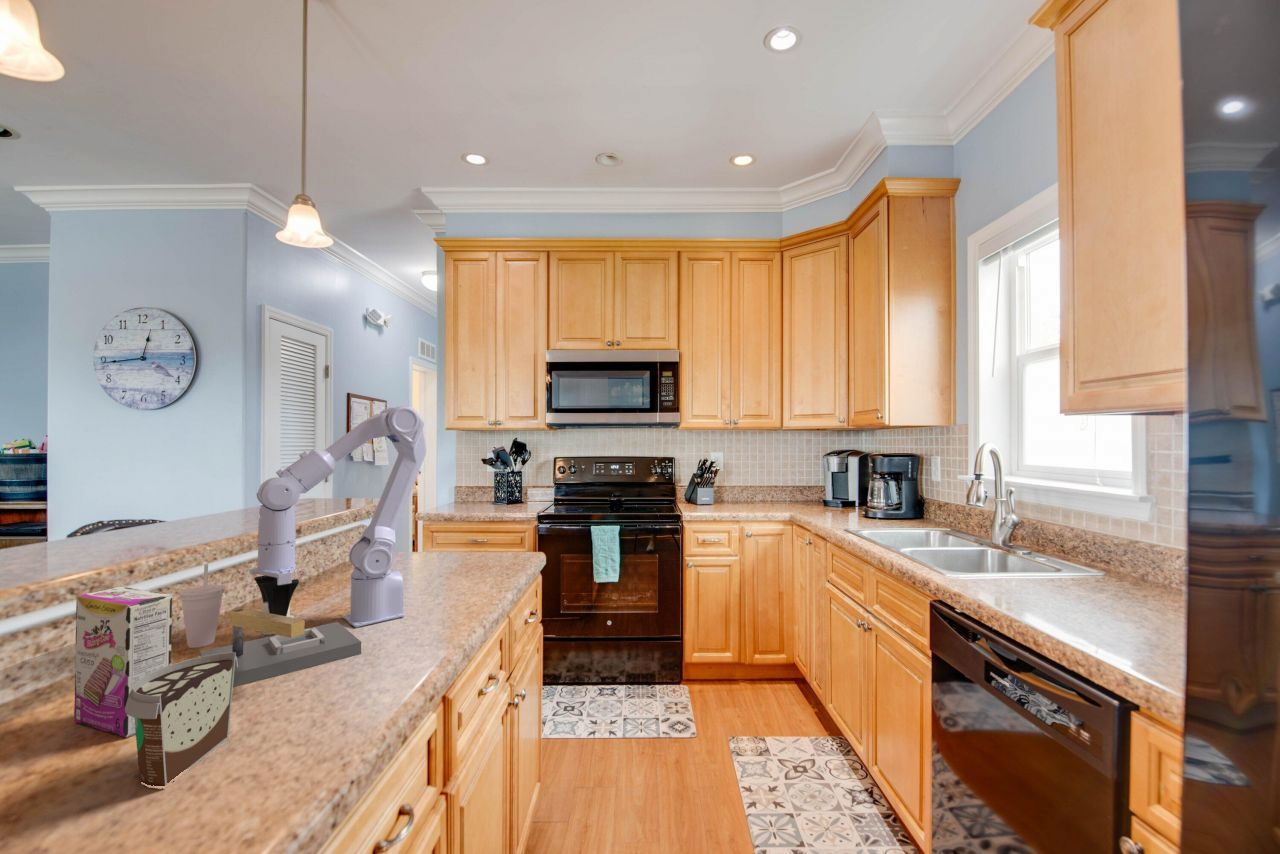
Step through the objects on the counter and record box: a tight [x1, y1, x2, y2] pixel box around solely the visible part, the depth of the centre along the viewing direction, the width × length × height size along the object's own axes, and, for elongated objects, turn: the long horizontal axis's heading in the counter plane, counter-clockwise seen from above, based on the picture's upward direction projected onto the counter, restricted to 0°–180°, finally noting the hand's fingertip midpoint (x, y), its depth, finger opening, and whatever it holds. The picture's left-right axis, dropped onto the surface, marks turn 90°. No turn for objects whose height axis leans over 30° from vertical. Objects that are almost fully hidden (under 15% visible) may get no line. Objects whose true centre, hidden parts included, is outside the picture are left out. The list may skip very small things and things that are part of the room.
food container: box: [125, 652, 238, 786], centre depth 59 cm, size 12×6×10 cm, turn 5°
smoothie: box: [178, 563, 226, 649], centre depth 94 cm, size 6×6×14 cm
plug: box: [259, 602, 295, 635], centre depth 96 cm, size 6×6×5 cm
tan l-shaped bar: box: [228, 607, 306, 657], centre depth 80 cm, size 15×2×7 cm, turn 67°
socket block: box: [199, 621, 362, 688], centre depth 87 cm, size 20×14×3 cm
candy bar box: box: [73, 586, 173, 738], centre depth 67 cm, size 11×5×16 cm, turn 71°
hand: (275, 616), depth 96 cm, fingers closed on plug, 4 cm apart
